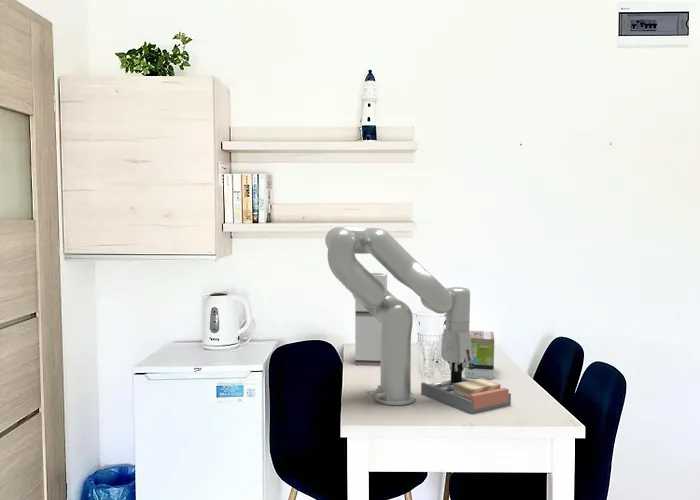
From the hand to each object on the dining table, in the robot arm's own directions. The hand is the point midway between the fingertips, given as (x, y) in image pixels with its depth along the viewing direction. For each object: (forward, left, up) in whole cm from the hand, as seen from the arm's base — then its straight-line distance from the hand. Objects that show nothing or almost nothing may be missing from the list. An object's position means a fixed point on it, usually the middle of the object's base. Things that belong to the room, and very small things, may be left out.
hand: (456, 382), depth 200 cm
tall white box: (+2, +52, -5) cm, 53 cm away
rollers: (0, -3, -3) cm, 4 cm away
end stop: (0, -15, -3) cm, 15 cm away
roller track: (0, -4, -5) cm, 6 cm away
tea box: (+26, +17, -5) cm, 32 cm away
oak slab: (0, -9, -1) cm, 9 cm away
